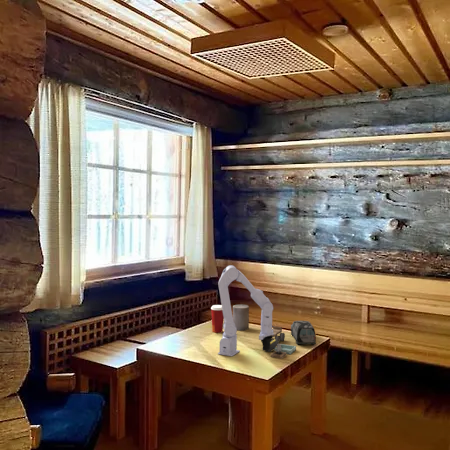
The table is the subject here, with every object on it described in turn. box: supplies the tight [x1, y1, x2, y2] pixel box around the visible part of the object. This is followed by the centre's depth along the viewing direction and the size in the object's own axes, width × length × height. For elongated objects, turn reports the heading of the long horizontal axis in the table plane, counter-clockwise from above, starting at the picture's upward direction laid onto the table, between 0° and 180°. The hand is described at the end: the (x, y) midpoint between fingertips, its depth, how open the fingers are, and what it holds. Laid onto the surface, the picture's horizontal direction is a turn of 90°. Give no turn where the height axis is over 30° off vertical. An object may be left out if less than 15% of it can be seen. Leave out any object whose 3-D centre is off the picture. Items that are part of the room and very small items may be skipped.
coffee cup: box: [210, 304, 224, 334], centre depth 291 cm, size 8×8×15 cm
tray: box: [274, 343, 297, 356], centre depth 256 cm, size 9×9×2 cm
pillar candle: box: [232, 303, 250, 331], centre depth 299 cm, size 10×10×15 cm
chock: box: [262, 340, 277, 353], centre depth 258 cm, size 7×4×5 cm, turn 152°
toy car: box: [290, 320, 317, 346], centre depth 276 cm, size 11×25×10 cm, turn 1°
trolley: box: [270, 325, 286, 346], centre depth 272 cm, size 12×9×7 cm
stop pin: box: [276, 343, 282, 355], centre depth 247 cm, size 2×2×6 cm
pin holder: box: [270, 350, 287, 360], centre depth 247 cm, size 6×6×2 cm
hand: (266, 350), depth 253 cm, fingers closed
